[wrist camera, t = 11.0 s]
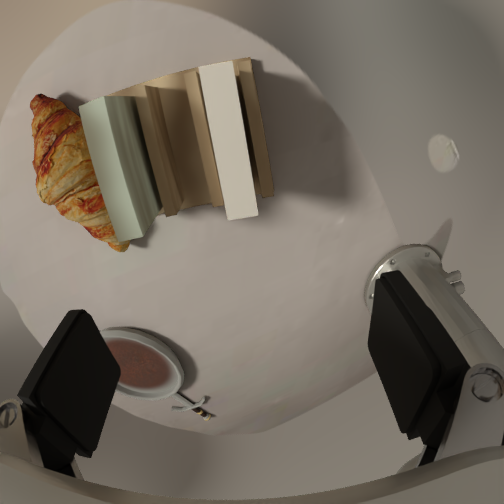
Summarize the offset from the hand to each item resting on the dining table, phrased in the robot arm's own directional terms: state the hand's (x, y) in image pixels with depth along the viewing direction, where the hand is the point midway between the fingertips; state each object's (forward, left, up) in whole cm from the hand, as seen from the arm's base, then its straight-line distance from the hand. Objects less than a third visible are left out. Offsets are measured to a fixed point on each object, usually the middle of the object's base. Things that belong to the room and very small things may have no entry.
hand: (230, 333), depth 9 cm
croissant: (+17, -4, -24) cm, 30 cm away
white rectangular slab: (0, -4, -23) cm, 23 cm away
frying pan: (+20, +31, -24) cm, 44 cm away
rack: (+4, -4, -24) cm, 24 cm away
